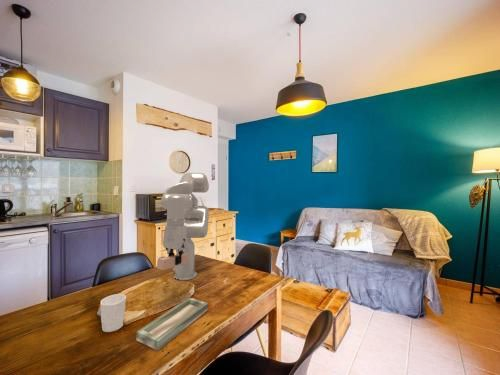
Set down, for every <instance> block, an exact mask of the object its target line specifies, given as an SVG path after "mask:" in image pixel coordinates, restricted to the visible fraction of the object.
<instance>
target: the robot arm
mask: <svg viewBox="0 0 500 375" xmlns="http://www.w3.org/2000/svg"><path fill="white" fill-rule="evenodd" d="M209 189H210V183H209V180H208V176H207V175H206V174H205V173H202V172H186V173H184V174H183V175H182V177H181V178H180V180H179V182H178V183H176V184H174V185H171V186H169V187H167V188H166V189H165V191H164V192H163V194H162V196H161V200H160V206H161V207H162V209H164V210H166V225H165V226H164V231H163V239H162V247H163V248H164V249H165V251H166V254H167V255H168V256H173V255H177V256H175V265H178V264H181V259H182V254H183V253H186V254H190V257H189V263H187V264H183V265H179V266H176V267H172V271H174V272H175V273H174V275H173V278H174V279H175V278H176V279H175V280H177V279H179V280H178V281H191V280H192V279H195V278H196V277H197V276H198V273H197V271H195V251H196V247H195V246H196V245H195V242H194V241H193V239H203V238H205V237H207V236H208V229H209V218H210V211H209V208H208V207H207V206H206V205H198V204H199V200H198V198H197V197H196V196H195V194H193V193H198V194H199V193H201V194H202V193H207V192H208V191H209ZM175 253H176V254H175ZM168 256H167V257H168Z"/></svg>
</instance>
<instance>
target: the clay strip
mask: <svg viewBox="0 0 500 375" xmlns="http://www.w3.org/2000/svg"><path fill="white" fill-rule="evenodd" d="M175 256H177V255H176V254H175V255H173V256H164V257H159V258H157V263H156V269H157V270H162V271H164V270H168V269H171V268H172V269H173V268H174V267H176V266H179V265H183V264H187V263H189V257H190V254H186V253H183V254H182V259H181V264H178V265H175Z"/></svg>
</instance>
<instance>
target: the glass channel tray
mask: <svg viewBox="0 0 500 375" xmlns="http://www.w3.org/2000/svg"><path fill="white" fill-rule="evenodd" d="M208 310H209V303H208V302H205V301H202V300H199V299H196V298H193V297H188V298H186V299H184V300H182V302H180V303H178V304H177V305H175V306H173V307H172V308H171V309H169V310H167V311H166V312H164V313H163V314H161V315H160V316H158V317H157V318H155V319H154V320H152V321H151V322H149V323H147V324H146V325H144V326H143V327H141V328H140V329H139V330H137V331H136V334H135V335H136V338H135V340H136V341H137V342H138V343H141V344H143V345H145V346H147V347H149V348H151V349H153V350H155V351H157V352H158V351H159V350H161V349H162V348H163V347H165V345H167V344H168V343H169V342H171V340H173V339H174V338H175V337H177V336H178V335H179V334H180V333H182V332H183V331H184V330H186V329H187V328H188V327H189V326H190V325H191V324H193V323H194V322H195V321H197V319H199V318H200V317H201V316H202V315H204V314H205V313H207V311H208Z"/></svg>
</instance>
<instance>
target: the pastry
mask: <svg viewBox="0 0 500 375" xmlns="http://www.w3.org/2000/svg"><path fill="white" fill-rule="evenodd" d="M96 315H97V316H98V317H101V305H100V306H99V307H98V310H97V312H96Z"/></svg>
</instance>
